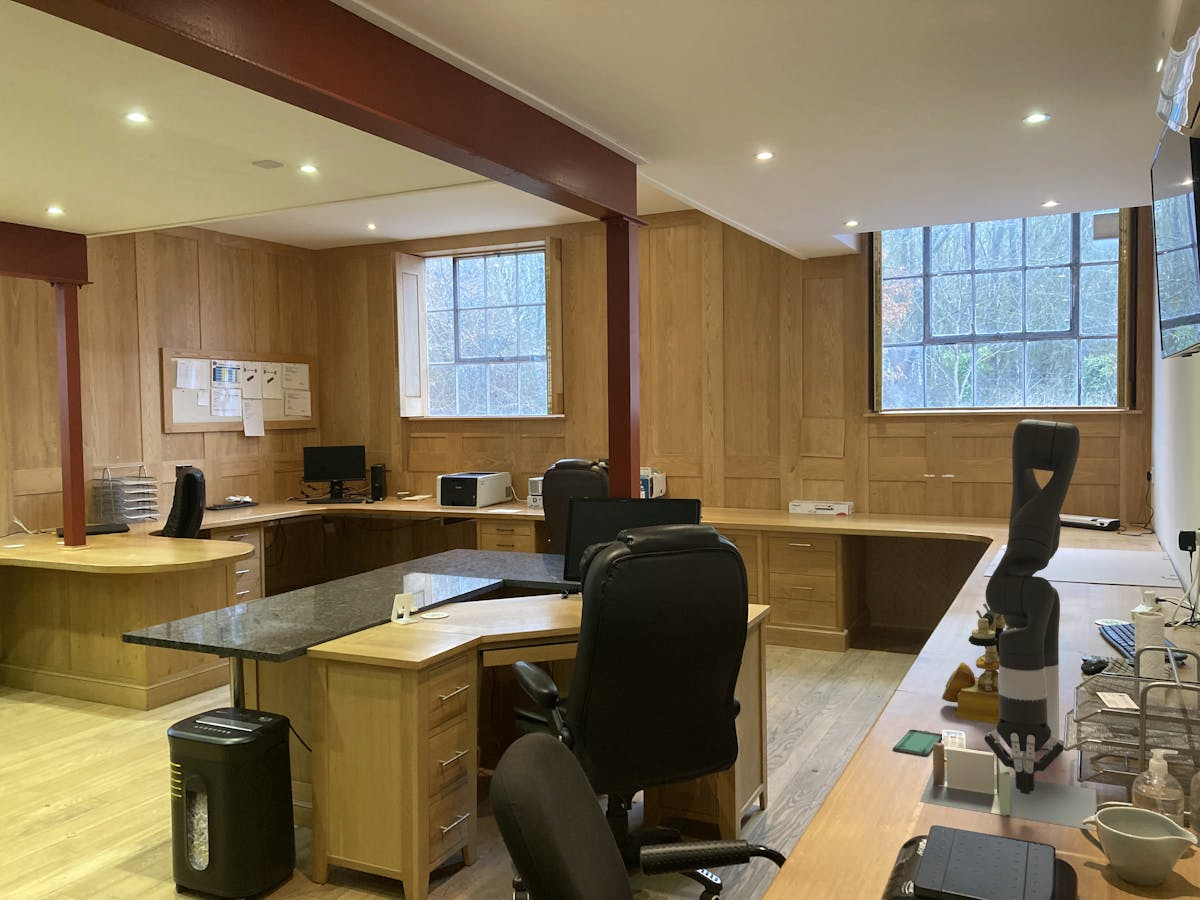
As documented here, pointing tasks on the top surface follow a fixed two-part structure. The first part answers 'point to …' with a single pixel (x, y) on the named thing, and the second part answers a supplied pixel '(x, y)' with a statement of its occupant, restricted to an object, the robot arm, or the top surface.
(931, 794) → the board
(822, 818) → the top surface
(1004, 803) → the fence gate panel
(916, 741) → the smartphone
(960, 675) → the tan ornate piece
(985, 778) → the fence fixed section
